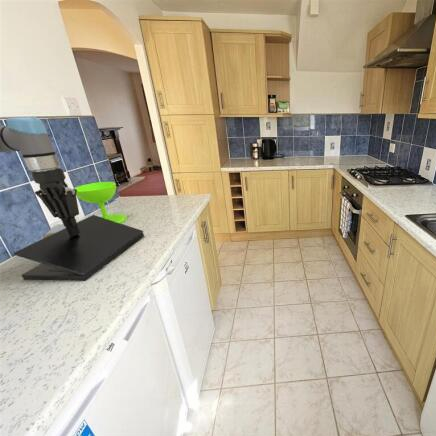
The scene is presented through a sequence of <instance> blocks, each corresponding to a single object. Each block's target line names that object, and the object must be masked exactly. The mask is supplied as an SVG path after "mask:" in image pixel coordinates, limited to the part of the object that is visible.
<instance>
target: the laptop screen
mask: <svg viewBox="0 0 436 436" xmlns="http://www.w3.org/2000/svg"><path fill="white" fill-rule="evenodd" d="M76 222H77V221H76ZM77 227H78V229H79V231H80V233H79V234H77V235H75V236H69V233H68V231H67V229H66V228H65V229H63V230H61V231H58V232H56V233H54V234H52V235H50V236H48V237H46V238H44V237H43V238H44V239H43V238H42V239H40V240H38V241H36V242H32V243H31V244H29V245H27V246H25V247H22V248H21V249H19V250H17V251H14V252H13V255H14V256H16V257H20V258H23V259H26V260H30V261H33V262H35V263H36V262H37V263H39V264H42V263H43V264H46V265H49V266H53V267H56V268H59V269H63V270H66V271H69V272H73V273H76V274H79V275H82V276H84V275H85V274H86V273H88V272H89V271H91V270H92V269H93V268H95V267H96V266H97V265H99V264H100V263H102V262H103V261H104V260H106V259H107V258H108V257H110V256H111V255H113V254H114V253H115V252H117V251H118V250H120V249H121V248H122V247H124V246H125V245H126V244H128V243H129V242H131V241H132V240H133V239H135V238H136V237H137V236H139V235H140V234H142V233H143V234H144V230H142V229H139V228H135V227H133V226H130V225H127V224H123V223H117V222H114V221H111V220H108V219H105V218H102V216H99V215H96V214H92V215H90V216H88V217H86V218H84V219H81V220H80V221H78V222H77Z"/></svg>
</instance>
